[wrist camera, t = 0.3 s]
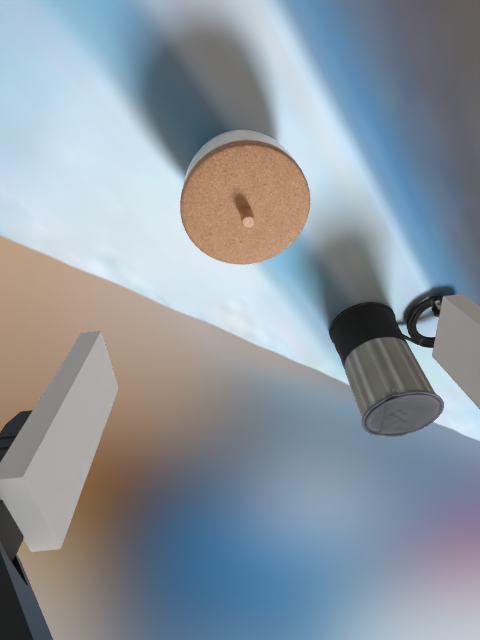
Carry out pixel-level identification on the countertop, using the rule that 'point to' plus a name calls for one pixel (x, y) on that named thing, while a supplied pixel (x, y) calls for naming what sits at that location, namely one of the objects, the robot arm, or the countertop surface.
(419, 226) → the countertop surface
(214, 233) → the lidded jar
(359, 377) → the milk frother
